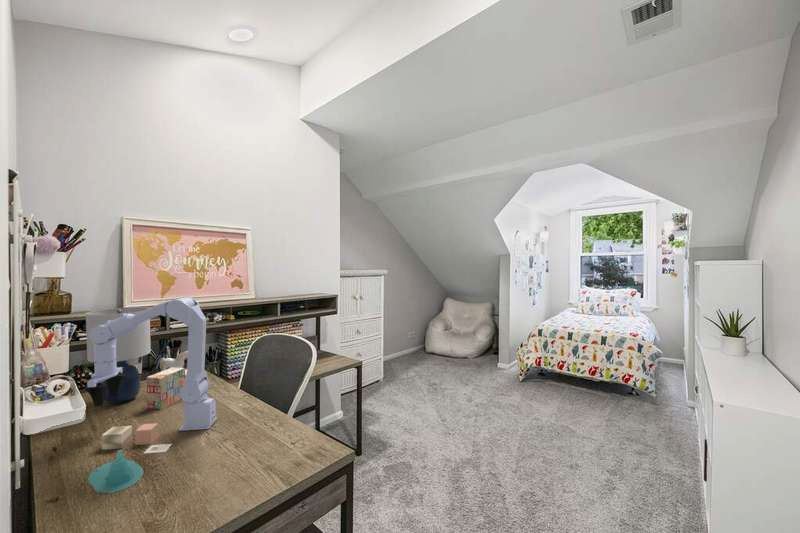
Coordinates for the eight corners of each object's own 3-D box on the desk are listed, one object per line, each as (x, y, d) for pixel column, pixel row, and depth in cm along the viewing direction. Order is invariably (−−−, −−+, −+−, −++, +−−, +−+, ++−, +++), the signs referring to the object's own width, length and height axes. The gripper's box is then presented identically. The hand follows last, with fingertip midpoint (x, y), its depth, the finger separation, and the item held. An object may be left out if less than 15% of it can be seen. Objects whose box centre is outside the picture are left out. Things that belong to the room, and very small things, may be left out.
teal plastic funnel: (131, 453, 110) (130, 425, 109) (155, 479, 97) (154, 447, 96) (78, 472, 100) (77, 441, 100) (96, 504, 87) (95, 468, 87)
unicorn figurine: (194, 381, 172) (193, 352, 171) (151, 381, 171) (150, 352, 171) (201, 376, 179) (201, 348, 178) (161, 376, 178) (160, 348, 178)
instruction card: (172, 444, 114) (172, 443, 114) (165, 452, 110) (165, 451, 110) (151, 445, 113) (151, 445, 113) (143, 453, 109) (143, 452, 109)
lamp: (152, 402, 147) (149, 310, 145) (85, 415, 135) (82, 315, 134) (151, 387, 163) (149, 304, 162) (92, 397, 152) (89, 308, 151)
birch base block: (132, 439, 118) (132, 425, 117) (122, 448, 112) (121, 433, 112) (113, 440, 117) (113, 426, 117) (102, 449, 111) (101, 435, 111)
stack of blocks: (189, 388, 162) (188, 360, 162) (201, 389, 161) (201, 361, 161) (147, 408, 141) (146, 376, 141) (161, 409, 140) (160, 377, 140)
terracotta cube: (158, 436, 119) (158, 423, 119) (151, 444, 115) (151, 429, 114) (143, 438, 118) (143, 424, 118) (135, 445, 114) (135, 430, 114)
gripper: (106, 355, 129) (107, 393, 129) (75, 367, 114) (77, 411, 115) (128, 354, 130) (129, 392, 130) (101, 366, 115) (102, 409, 116)
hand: (106, 401), depth 123 cm, fingers open, 7 cm apart
